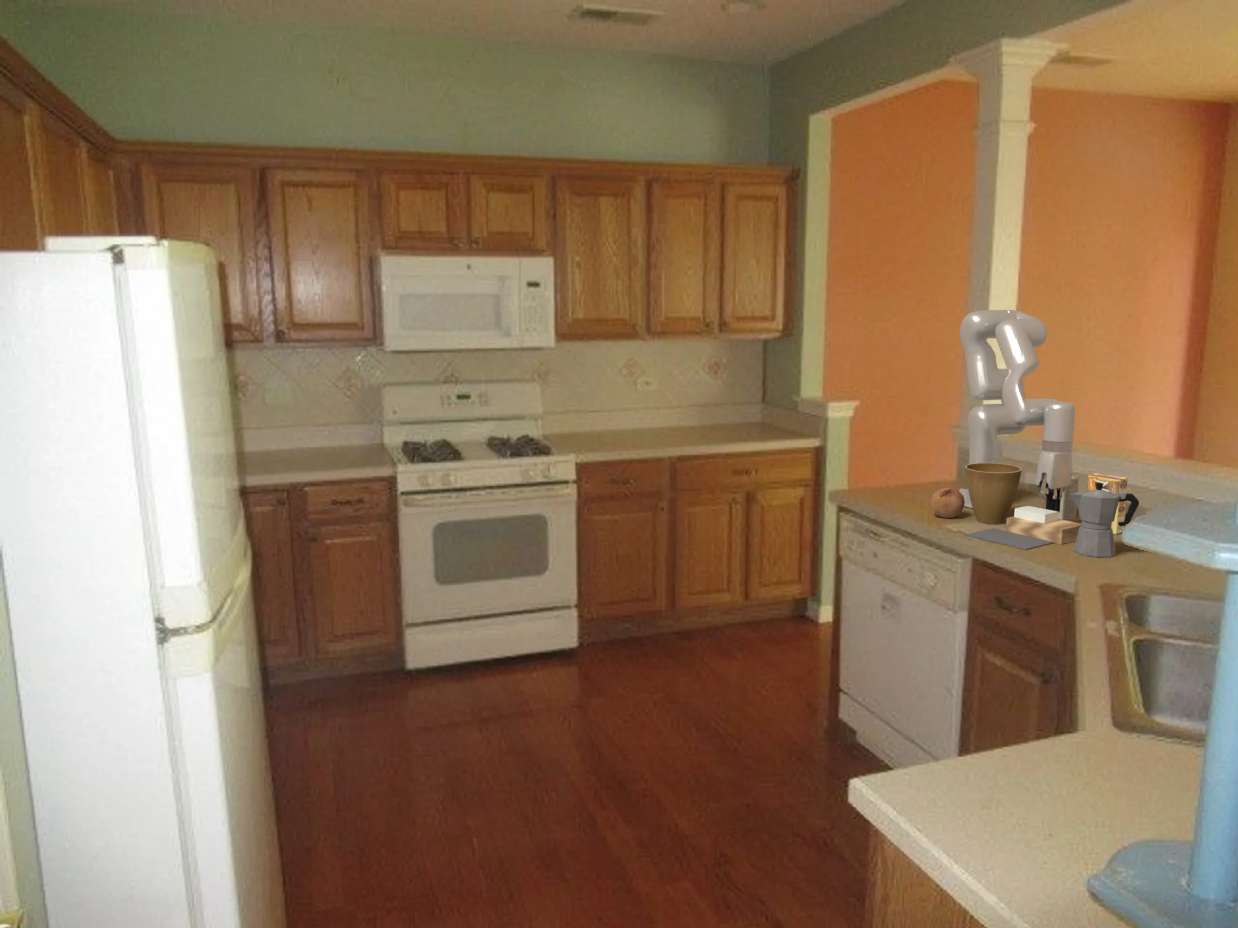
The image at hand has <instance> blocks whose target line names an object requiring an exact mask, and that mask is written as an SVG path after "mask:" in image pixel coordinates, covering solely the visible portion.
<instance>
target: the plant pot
mask: <svg viewBox="0 0 1238 928" xmlns="http://www.w3.org/2000/svg"><path fill="white" fill-rule="evenodd" d="M964 467H965V476H966V477H965V478H966V484H967V489H968V491H969V496H970V500H971V504H972V508H971V509H972V510H973V514H974V517H975V519H976V521H977V522H978V523H980V524H986V525H1002V524H1004V523H1006V522H1005V521H1007V518H1008V515H1009V513H1010V511H1011V509H1012V505H1013V504H1014V502H1015V501H1014V500H1015V498H1016V494H1017V491H1018V488H1019V484H1020V481H1021V475H1022V471H1023V468H1022V467H1021V466H1020V467H1019V466H1016V465H1014V464H1009V463H1003V462H1002V463H974V464H969V463H968V464H966V465H965V466H964Z"/></svg>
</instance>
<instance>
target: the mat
mask: <svg viewBox="0 0 1238 928" xmlns="http://www.w3.org/2000/svg"><path fill="white" fill-rule="evenodd" d="M965 536H967V537H970V538H974V539H977V540H983V541H987V542H991V543H995V544H999V545H1004V546H1007V547H1013V548H1016V549H1019V550H1020V549H1021V550H1022V551H1023V550H1025V551H1028V550H1032V549H1035V548H1040V547H1043V546H1048V545H1051V544H1055V543H1054V542H1052V541H1048V540H1043V539H1039V538H1034V537H1030V536H1026V535H1021V534H1017V533H1012V532H1008V531H1006V530H1004V529H1003V530H1002V529H998V528H996V527H995V528H994V527H992V528H989V529H985V530H978V531H975V532H974V531H973V532H971V533H970V532H969V533H966V534H965Z"/></svg>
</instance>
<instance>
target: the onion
mask: <svg viewBox="0 0 1238 928" xmlns="http://www.w3.org/2000/svg"><path fill="white" fill-rule="evenodd" d="M964 502H965V501H964V496H963V495H962V494H961V493H960V492H959V490H958V489H956V488H952V487H944V488H939V489H937V490H936V491H935V492H934V493H933V494H932V497H931V498H930V507H931V510H932V511H933V514H934V515H936V516H937V517H940V518H944V519H953V518H955V517H956V516H958V515H959V514H961V512H962V511H963V509H964V507H965V506H964Z"/></svg>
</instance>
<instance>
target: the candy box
mask: <svg viewBox="0 0 1238 928" xmlns="http://www.w3.org/2000/svg"><path fill="white" fill-rule="evenodd" d="M1087 479H1088V480H1087V490H1096V489H1097V487H1096V483H1099V482H1100V483H1103V487H1102V490H1104V491H1108V492H1111V493H1114V494H1115V493H1125V494H1126V493H1127V492H1128V491H1127V489H1128V477H1125V476H1117V475H1111V474H1110V475H1109V474H1104V473H1098V472H1097V473H1096V472H1095V473H1091V474H1088V476H1087ZM1087 490H1086V491H1087ZM1126 503H1127V501H1119V503H1118V507H1117V510H1116V514H1115V518H1114V521H1113V522H1112V525H1111V529H1112V530H1113V535H1119V534H1122V533H1123V532H1122V529H1123V527H1124V528H1125V526H1119V524H1118V522H1124V520H1125V515H1126V505H1127V504H1126ZM1121 532H1122V533H1121ZM1118 533H1119V534H1118Z"/></svg>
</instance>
